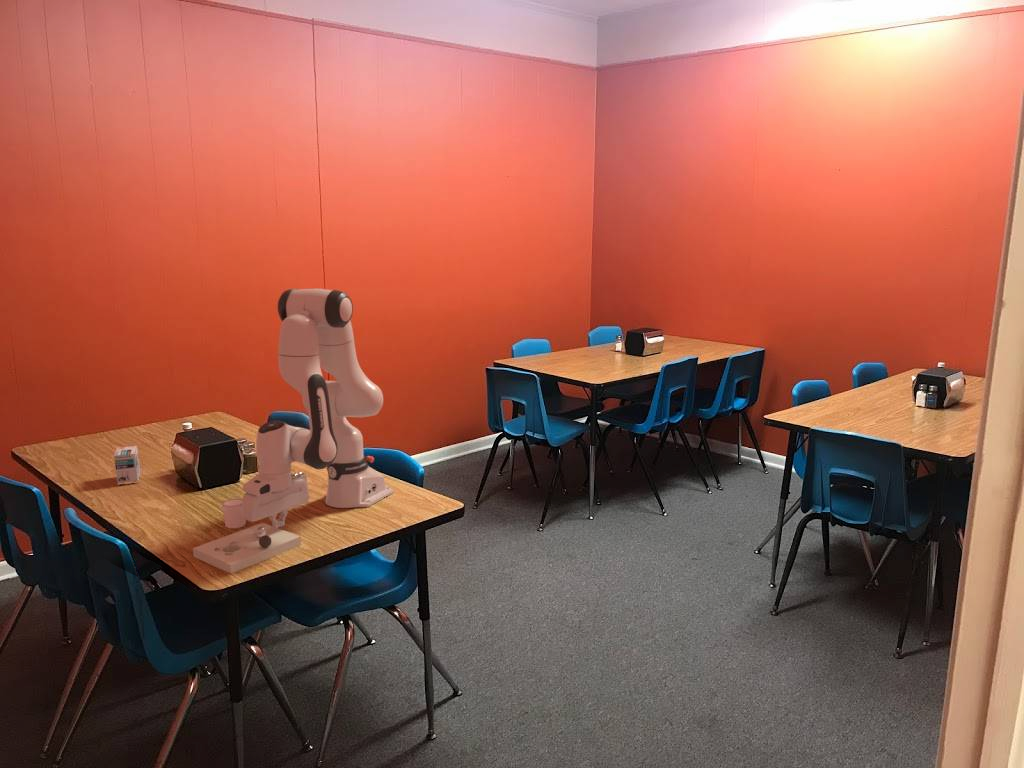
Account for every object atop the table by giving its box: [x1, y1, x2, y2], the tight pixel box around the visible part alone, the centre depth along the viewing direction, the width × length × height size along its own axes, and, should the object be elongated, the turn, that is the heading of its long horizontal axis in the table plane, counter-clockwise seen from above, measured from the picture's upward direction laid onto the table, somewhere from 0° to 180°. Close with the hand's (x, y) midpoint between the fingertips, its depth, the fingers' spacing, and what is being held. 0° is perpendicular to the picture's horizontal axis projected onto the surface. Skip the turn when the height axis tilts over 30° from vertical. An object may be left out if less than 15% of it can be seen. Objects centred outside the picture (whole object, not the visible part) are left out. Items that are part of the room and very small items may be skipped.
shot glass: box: [221, 498, 247, 529], centre depth 229 cm, size 7×7×7 cm
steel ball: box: [254, 526, 266, 538], centre depth 213 cm, size 3×3×3 cm
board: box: [192, 522, 302, 575], centre depth 211 cm, size 22×17×2 cm
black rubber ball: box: [259, 535, 271, 547], centre depth 207 cm, size 3×3×3 cm
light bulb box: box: [113, 445, 141, 483], centre depth 268 cm, size 11×7×11 cm, turn 22°
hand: (278, 526), depth 218 cm, fingers closed
